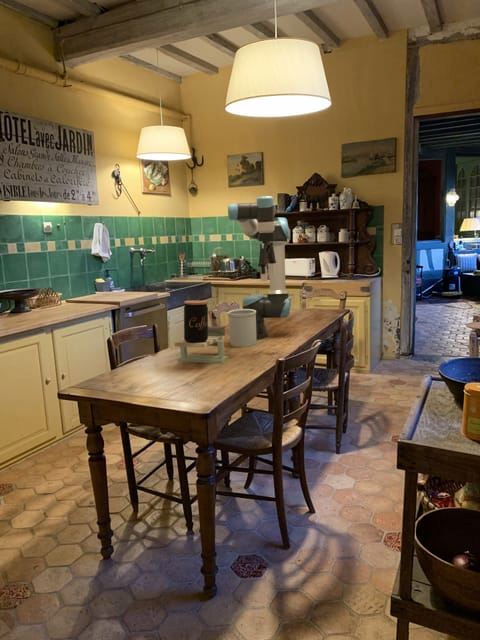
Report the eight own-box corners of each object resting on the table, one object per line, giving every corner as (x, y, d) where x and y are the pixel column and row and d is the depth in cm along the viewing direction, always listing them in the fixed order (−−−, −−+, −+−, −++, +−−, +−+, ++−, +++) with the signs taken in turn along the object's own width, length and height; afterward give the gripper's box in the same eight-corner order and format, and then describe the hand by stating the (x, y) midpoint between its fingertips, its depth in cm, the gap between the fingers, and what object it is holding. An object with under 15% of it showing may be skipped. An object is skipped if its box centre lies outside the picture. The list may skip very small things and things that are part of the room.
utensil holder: (255, 347, 251) (253, 313, 248) (226, 347, 254) (224, 314, 251) (259, 340, 266) (258, 308, 262) (232, 340, 269) (230, 309, 265)
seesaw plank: (196, 340, 247) (196, 326, 246) (227, 341, 242) (226, 326, 241) (173, 350, 221) (172, 334, 221) (206, 351, 216) (205, 334, 215)
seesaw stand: (184, 356, 241) (183, 337, 239) (227, 358, 234) (226, 338, 232) (177, 361, 233) (176, 341, 231) (221, 363, 226) (220, 342, 224)
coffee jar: (187, 343, 217) (187, 302, 215) (181, 339, 227) (181, 300, 224) (210, 342, 221) (210, 302, 218) (203, 338, 231) (203, 300, 228)
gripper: (267, 232, 208) (269, 282, 212) (280, 230, 231) (282, 276, 235) (250, 233, 211) (252, 282, 215) (265, 231, 234) (267, 276, 238)
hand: (268, 279), depth 225 cm, fingers open, 13 cm apart
